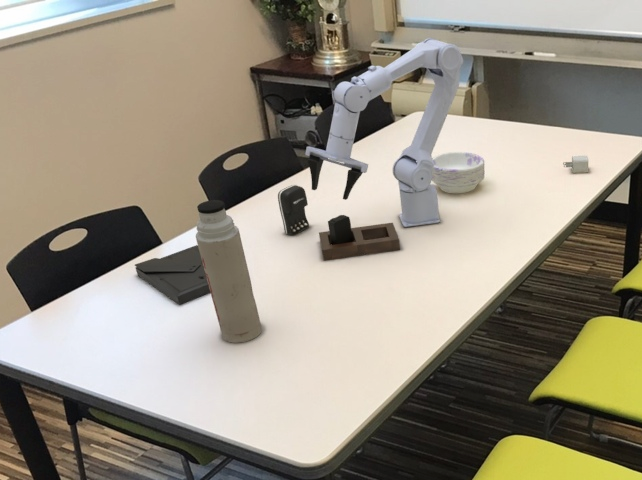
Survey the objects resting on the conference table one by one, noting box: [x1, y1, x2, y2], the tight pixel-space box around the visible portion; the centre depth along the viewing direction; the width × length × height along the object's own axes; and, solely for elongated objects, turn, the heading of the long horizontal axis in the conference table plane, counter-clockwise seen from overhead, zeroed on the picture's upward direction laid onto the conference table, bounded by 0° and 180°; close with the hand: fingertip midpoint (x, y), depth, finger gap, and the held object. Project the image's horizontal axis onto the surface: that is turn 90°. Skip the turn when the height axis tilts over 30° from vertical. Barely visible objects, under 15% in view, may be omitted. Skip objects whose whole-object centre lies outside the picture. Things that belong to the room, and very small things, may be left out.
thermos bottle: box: [195, 199, 263, 344], centre depth 155 cm, size 8×8×28 cm
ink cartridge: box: [327, 214, 353, 245], centre depth 192 cm, size 5×2×8 cm, turn 137°
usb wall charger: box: [562, 155, 589, 174], centre depth 229 cm, size 4×7×4 cm, turn 89°
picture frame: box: [134, 244, 211, 305], centre depth 184 cm, size 16×3×21 cm
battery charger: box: [277, 184, 310, 236], centre depth 200 cm, size 7×4×11 cm, turn 146°
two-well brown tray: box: [318, 222, 401, 261], centre depth 194 cm, size 18×10×3 cm, turn 104°
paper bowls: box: [431, 151, 486, 194], centre depth 221 cm, size 15×15×8 cm
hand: (329, 194), depth 188 cm, fingers open, 7 cm apart
